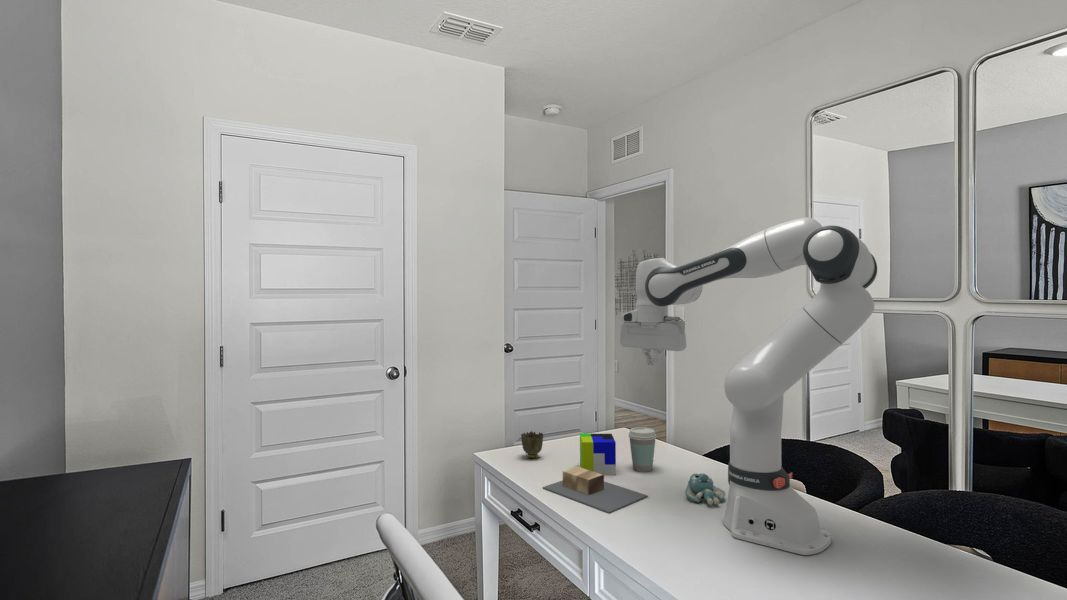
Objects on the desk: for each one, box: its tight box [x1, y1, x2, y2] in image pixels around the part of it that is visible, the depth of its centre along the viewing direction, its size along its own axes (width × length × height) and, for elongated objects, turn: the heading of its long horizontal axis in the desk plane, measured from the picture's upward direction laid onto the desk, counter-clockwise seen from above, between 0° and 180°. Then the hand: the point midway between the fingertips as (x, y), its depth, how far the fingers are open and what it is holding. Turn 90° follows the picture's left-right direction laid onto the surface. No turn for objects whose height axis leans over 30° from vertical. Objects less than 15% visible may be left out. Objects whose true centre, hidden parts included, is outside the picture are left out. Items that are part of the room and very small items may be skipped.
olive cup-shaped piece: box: [520, 430, 544, 460], centre depth 180 cm, size 8×7×8 cm
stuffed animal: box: [684, 473, 726, 506], centre depth 143 cm, size 11×7×12 cm
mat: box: [542, 479, 649, 515], centre depth 148 cm, size 24×16×1 cm, turn 42°
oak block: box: [562, 466, 605, 495], centre depth 151 cm, size 4×6×10 cm
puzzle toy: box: [579, 433, 617, 476], centre depth 167 cm, size 10×10×10 cm
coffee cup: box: [628, 426, 657, 473], centre depth 168 cm, size 8×8×12 cm
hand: (652, 365), depth 153 cm, fingers closed
